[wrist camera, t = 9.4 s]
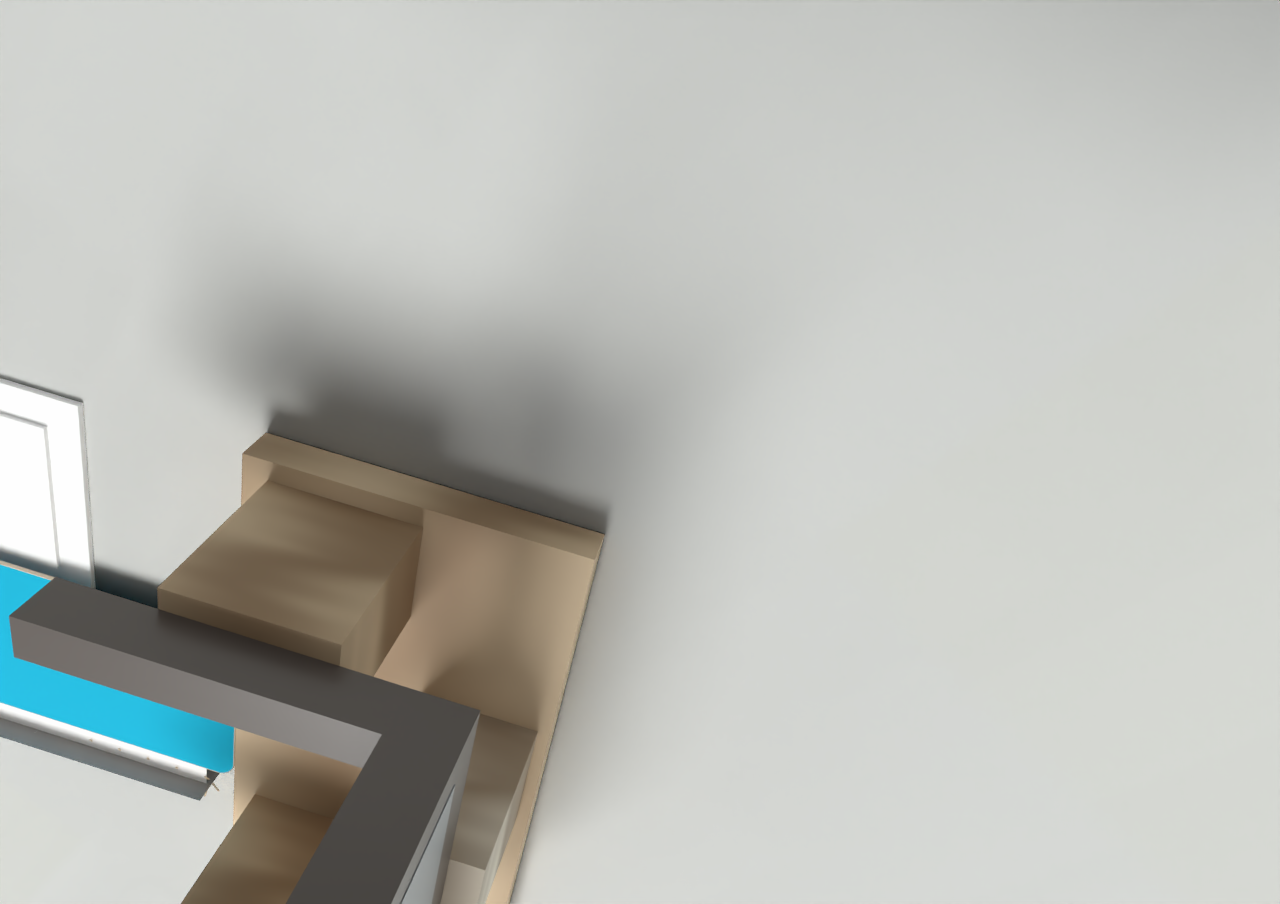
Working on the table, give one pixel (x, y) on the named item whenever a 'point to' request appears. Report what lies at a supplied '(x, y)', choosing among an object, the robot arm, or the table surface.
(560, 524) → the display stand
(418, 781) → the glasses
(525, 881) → the table surface
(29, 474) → the blue flat piece
